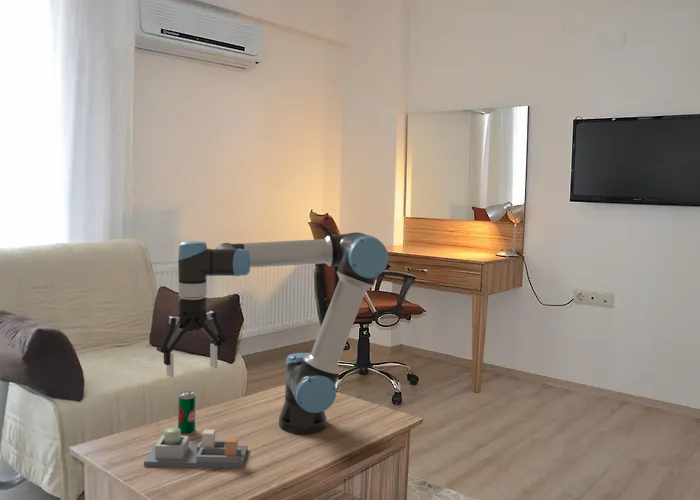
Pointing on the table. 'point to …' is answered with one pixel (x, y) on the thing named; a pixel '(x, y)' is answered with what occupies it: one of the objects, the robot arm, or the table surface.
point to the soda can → (186, 412)
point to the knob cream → (208, 438)
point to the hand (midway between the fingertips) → (192, 371)
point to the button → (172, 436)
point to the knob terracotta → (231, 446)
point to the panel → (194, 455)
